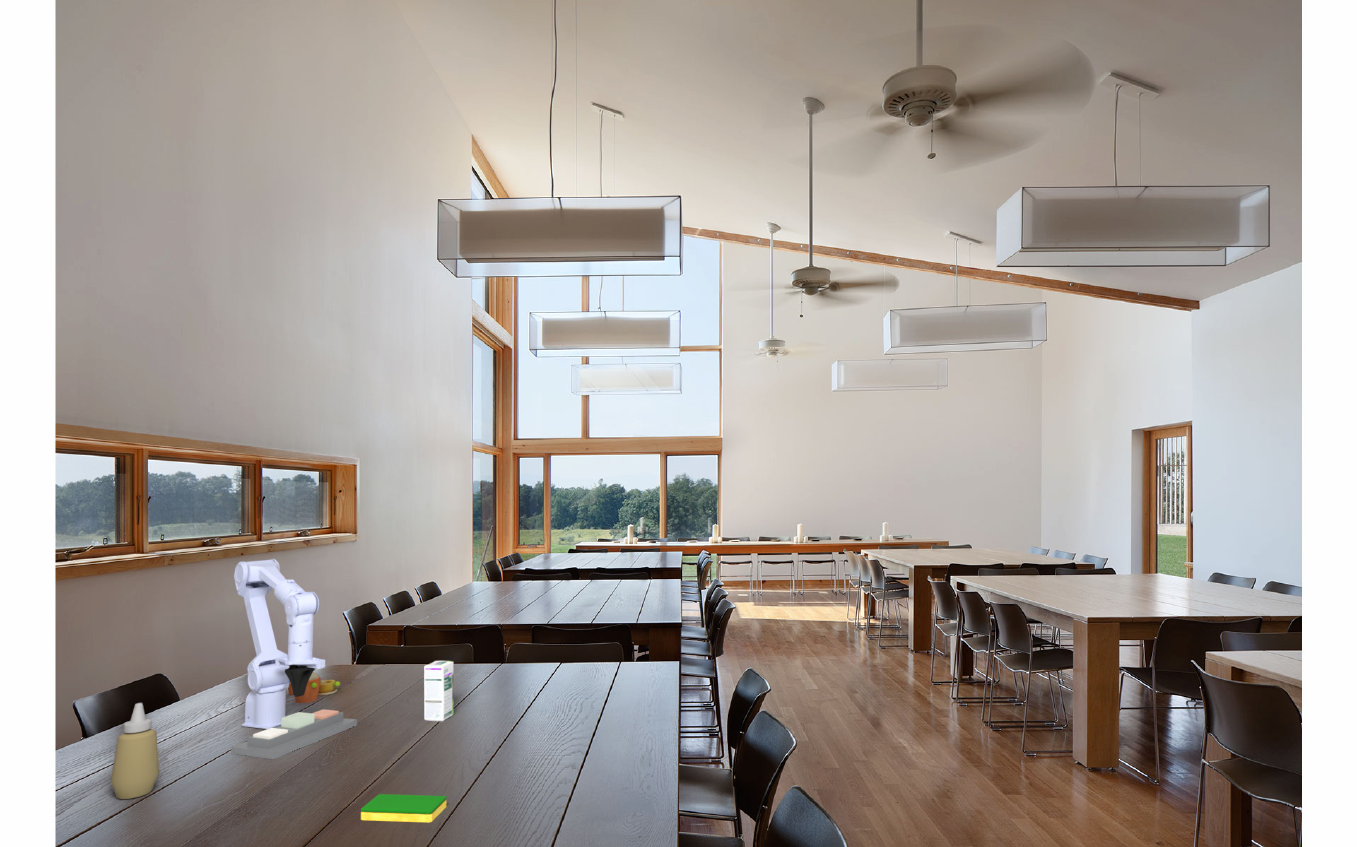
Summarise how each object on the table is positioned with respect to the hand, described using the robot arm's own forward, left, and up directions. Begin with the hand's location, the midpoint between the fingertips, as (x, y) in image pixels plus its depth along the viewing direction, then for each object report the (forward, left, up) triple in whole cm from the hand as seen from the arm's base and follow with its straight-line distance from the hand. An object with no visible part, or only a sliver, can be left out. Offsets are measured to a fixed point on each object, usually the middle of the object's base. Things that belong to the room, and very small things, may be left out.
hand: (299, 695), depth 191 cm
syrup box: (+26, +22, -10) cm, 35 cm away
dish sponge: (+58, -30, -10) cm, 66 cm away
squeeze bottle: (-1, -40, -10) cm, 41 cm away
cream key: (+3, -11, -8) cm, 14 cm away
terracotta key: (+3, +5, -8) cm, 10 cm away
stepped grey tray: (+3, -3, -9) cm, 10 cm away
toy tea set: (-31, +26, -10) cm, 42 cm away
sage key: (+3, -3, -6) cm, 8 cm away
